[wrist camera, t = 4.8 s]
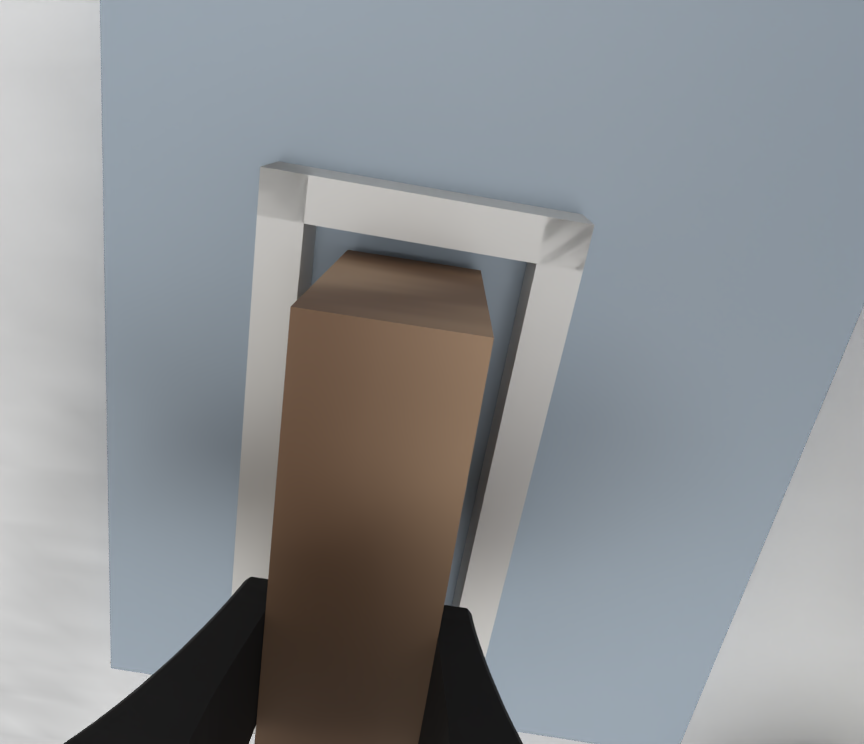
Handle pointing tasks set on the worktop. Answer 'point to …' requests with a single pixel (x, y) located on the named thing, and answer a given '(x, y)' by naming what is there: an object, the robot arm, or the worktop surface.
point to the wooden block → (369, 496)
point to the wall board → (490, 301)
